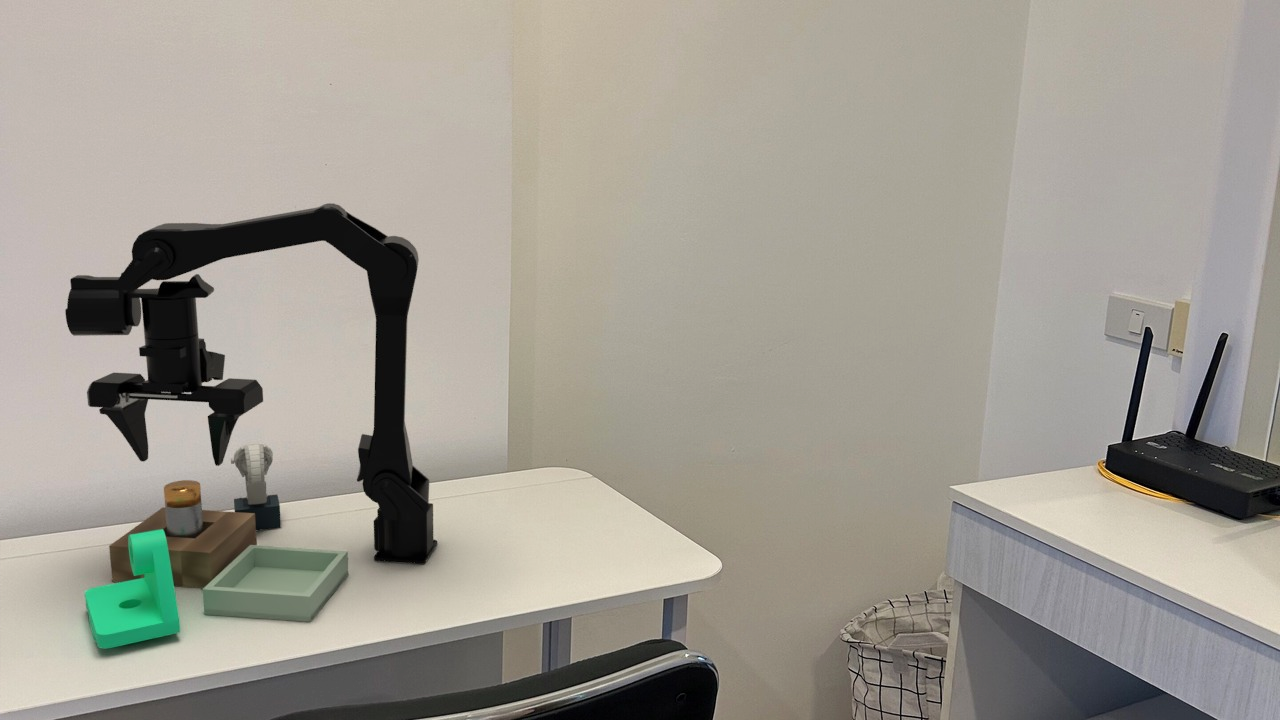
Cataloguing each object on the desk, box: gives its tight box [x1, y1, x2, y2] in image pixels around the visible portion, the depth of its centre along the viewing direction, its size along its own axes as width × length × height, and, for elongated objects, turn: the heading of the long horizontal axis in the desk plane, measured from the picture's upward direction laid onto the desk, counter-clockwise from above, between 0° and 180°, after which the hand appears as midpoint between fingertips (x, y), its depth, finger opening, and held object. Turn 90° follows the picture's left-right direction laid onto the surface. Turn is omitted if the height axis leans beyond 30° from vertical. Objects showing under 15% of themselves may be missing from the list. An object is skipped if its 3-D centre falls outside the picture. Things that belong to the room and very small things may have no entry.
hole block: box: [108, 506, 258, 589], centre depth 128 cm, size 12×12×4 cm
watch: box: [230, 442, 282, 531], centre depth 139 cm, size 6×8×11 cm
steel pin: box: [163, 479, 203, 539], centre depth 127 cm, size 4×4×10 cm
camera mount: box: [84, 529, 181, 650], centre depth 112 cm, size 12×8×10 cm, turn 33°
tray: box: [202, 544, 349, 623], centre depth 121 cm, size 12×12×3 cm
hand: (181, 462), depth 126 cm, fingers open, 9 cm apart
